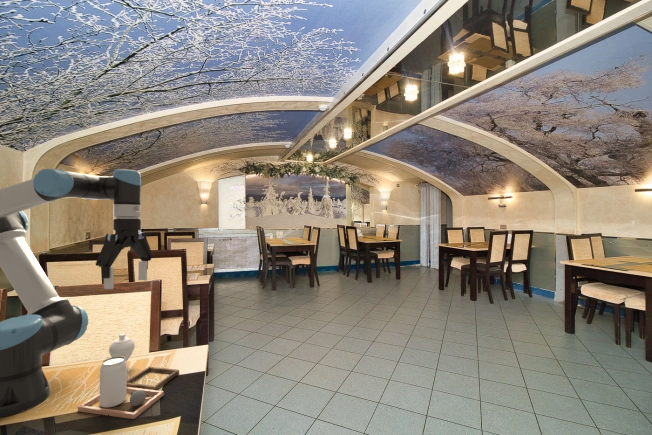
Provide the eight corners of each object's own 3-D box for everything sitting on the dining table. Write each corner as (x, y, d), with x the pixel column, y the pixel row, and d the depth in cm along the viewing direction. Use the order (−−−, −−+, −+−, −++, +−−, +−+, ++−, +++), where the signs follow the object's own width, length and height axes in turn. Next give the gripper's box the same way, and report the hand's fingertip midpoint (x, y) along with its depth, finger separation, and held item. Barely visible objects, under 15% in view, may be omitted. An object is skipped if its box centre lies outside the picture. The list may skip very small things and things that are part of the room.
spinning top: (118, 363, 117) (119, 330, 117) (139, 363, 116) (139, 330, 116) (103, 373, 109) (103, 338, 109) (125, 373, 109) (125, 338, 109)
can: (113, 410, 88) (113, 366, 88) (93, 407, 90) (94, 364, 90) (131, 397, 95) (132, 356, 95) (113, 394, 96) (113, 354, 96)
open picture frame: (77, 411, 88) (77, 406, 88) (113, 389, 99) (113, 385, 99) (133, 419, 85) (133, 414, 85) (163, 395, 96) (163, 391, 96)
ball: (126, 408, 89) (126, 393, 89) (137, 400, 93) (137, 386, 93) (138, 409, 89) (138, 395, 89) (149, 401, 93) (149, 387, 93)
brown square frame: (122, 387, 100) (122, 383, 100) (149, 370, 112) (149, 366, 112) (155, 391, 98) (155, 387, 98) (179, 373, 110) (179, 369, 110)
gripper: (103, 218, 90) (102, 293, 90) (164, 218, 114) (163, 277, 114) (81, 217, 91) (80, 292, 91) (145, 218, 116) (145, 276, 116)
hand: (126, 284), depth 103 cm, fingers open, 13 cm apart
